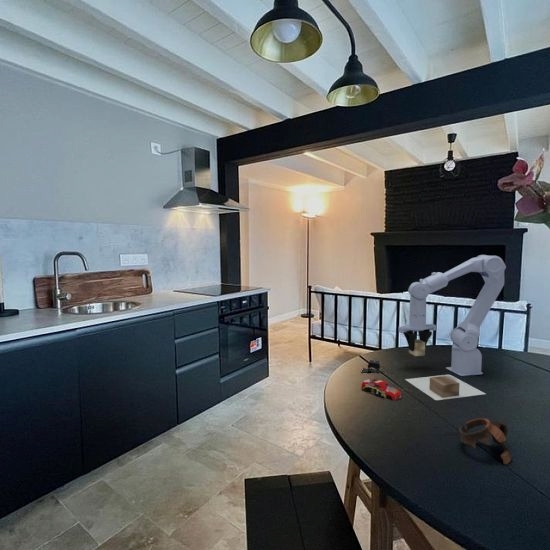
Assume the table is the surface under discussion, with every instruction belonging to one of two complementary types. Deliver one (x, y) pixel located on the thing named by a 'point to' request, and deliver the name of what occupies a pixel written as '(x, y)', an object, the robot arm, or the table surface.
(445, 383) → the walnut block
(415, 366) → the table surface
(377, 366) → the black angular block
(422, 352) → the maple block
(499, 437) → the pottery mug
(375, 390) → the race car
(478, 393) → the board
